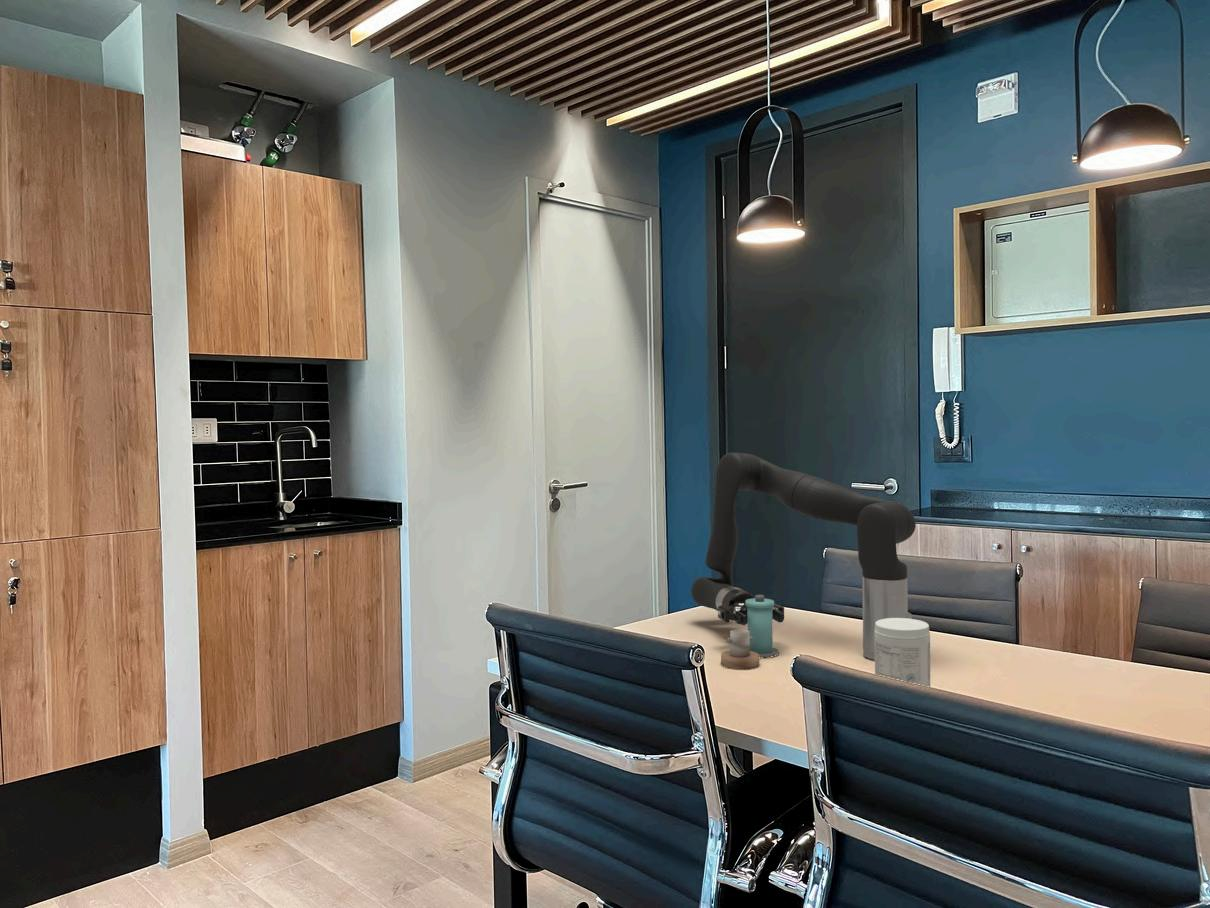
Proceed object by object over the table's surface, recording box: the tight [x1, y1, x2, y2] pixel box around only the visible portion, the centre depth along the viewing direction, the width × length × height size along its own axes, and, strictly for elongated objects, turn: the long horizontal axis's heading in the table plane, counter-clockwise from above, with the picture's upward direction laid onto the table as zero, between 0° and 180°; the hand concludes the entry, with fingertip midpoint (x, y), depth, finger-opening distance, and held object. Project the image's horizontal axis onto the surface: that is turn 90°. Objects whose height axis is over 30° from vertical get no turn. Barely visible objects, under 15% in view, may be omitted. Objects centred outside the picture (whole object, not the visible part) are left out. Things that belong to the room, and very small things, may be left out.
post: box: [720, 628, 760, 670], centre depth 191 cm, size 8×8×7 cm
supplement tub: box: [874, 618, 931, 688], centre depth 162 cm, size 10×10×15 cm
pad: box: [759, 647, 780, 657], centre depth 199 cm, size 8×8×1 cm
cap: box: [745, 594, 775, 654], centre depth 199 cm, size 6×6×12 cm
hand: (763, 619), depth 197 cm, fingers open, 8 cm apart
